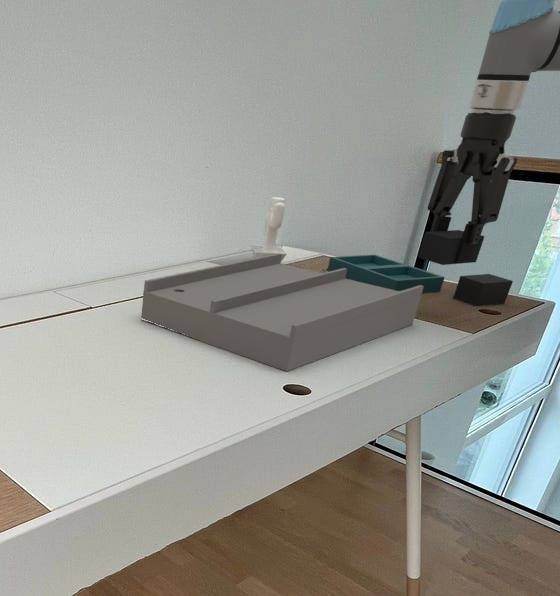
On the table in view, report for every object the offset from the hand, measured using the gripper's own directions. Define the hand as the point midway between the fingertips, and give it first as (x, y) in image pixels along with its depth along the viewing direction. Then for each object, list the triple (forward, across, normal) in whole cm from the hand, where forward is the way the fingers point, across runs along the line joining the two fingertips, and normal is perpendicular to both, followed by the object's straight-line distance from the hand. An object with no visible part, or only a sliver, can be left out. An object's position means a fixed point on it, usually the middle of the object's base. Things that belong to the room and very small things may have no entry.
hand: (447, 258), depth 124 cm
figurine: (+11, -43, -8) cm, 45 cm away
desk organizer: (+11, -4, -32) cm, 34 cm away
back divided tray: (+11, -25, +11) cm, 29 cm away
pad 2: (+11, -6, +19) cm, 23 cm away
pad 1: (0, 0, 0) cm, 0 cm away
